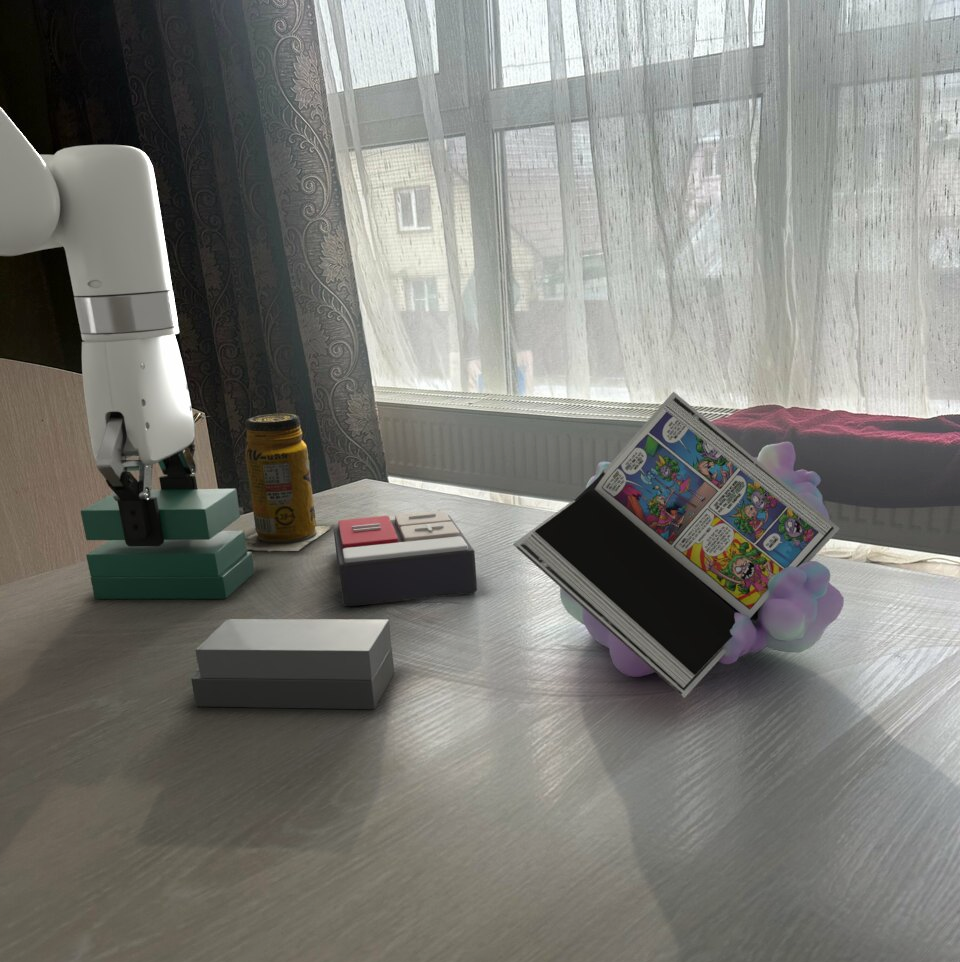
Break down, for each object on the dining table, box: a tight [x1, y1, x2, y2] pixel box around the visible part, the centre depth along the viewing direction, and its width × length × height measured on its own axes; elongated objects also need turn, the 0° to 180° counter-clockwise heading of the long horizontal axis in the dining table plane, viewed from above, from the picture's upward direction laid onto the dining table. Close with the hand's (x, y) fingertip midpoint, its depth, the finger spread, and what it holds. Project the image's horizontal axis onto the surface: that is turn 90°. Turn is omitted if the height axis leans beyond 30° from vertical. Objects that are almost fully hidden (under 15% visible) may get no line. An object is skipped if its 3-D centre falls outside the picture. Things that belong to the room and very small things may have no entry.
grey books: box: [190, 618, 395, 710], centre depth 66 cm, size 12×6×4 cm, turn 82°
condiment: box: [244, 413, 332, 553], centre depth 98 cm, size 7×8×12 cm
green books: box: [85, 530, 256, 600], centre depth 88 cm, size 12×7×4 cm, turn 82°
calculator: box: [333, 509, 478, 607], centre depth 88 cm, size 11×4×15 cm
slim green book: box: [80, 488, 241, 541], centre depth 86 cm, size 11×7×3 cm, turn 82°
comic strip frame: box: [512, 391, 845, 699], centre depth 67 cm, size 20×22×18 cm
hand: (165, 530), depth 87 cm, fingers closed on slim green book, 7 cm apart
